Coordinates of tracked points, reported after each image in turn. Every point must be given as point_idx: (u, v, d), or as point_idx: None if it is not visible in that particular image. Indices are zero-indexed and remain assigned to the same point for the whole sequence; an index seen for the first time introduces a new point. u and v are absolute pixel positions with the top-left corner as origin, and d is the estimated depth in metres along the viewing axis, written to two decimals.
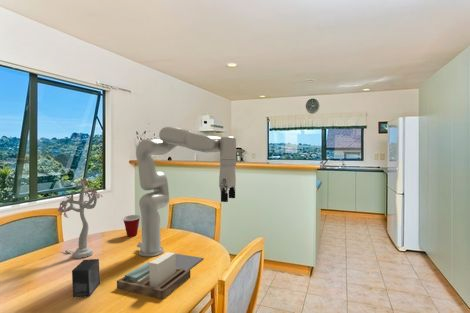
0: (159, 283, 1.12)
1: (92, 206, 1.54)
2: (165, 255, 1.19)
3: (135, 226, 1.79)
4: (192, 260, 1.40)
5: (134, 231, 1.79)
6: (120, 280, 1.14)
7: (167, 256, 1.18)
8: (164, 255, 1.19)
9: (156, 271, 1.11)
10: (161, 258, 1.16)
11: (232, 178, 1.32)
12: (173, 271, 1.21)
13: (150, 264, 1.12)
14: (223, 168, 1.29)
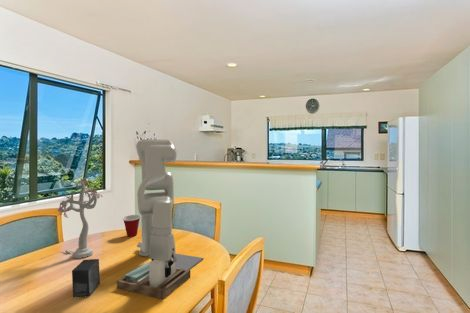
0: (159, 283, 1.12)
1: (92, 206, 1.54)
2: None
3: (135, 226, 1.79)
4: (192, 260, 1.40)
5: (134, 231, 1.79)
6: (120, 280, 1.14)
7: None
8: None
9: (156, 271, 1.11)
10: None
11: None
12: (173, 271, 1.21)
13: (150, 264, 1.12)
14: (171, 236, 1.14)
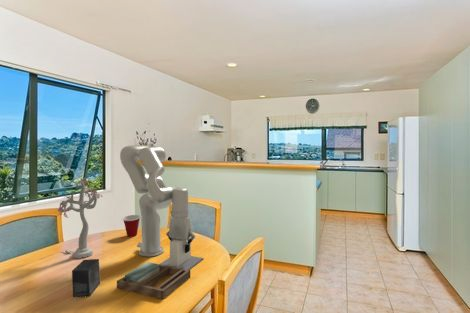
0: (178, 259, 1.33)
1: (92, 206, 1.54)
2: None
3: (135, 226, 1.79)
4: (192, 260, 1.40)
5: (134, 231, 1.79)
6: (120, 280, 1.14)
7: None
8: None
9: (175, 249, 1.32)
10: (179, 239, 1.37)
11: None
12: (189, 251, 1.42)
13: (170, 243, 1.33)
14: (188, 219, 1.36)
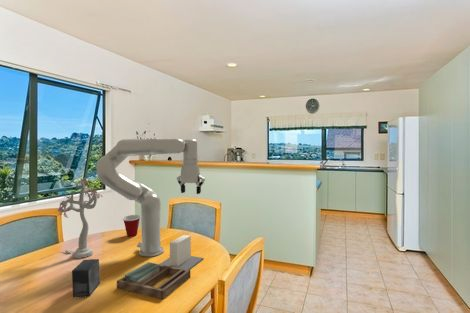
0: (178, 259, 1.33)
1: (92, 206, 1.54)
2: (182, 237, 1.40)
3: (135, 226, 1.79)
4: (192, 260, 1.40)
5: (134, 231, 1.79)
6: (120, 280, 1.14)
7: (184, 238, 1.39)
8: (181, 237, 1.41)
9: (175, 249, 1.32)
10: (179, 239, 1.37)
11: None
12: (189, 251, 1.42)
13: (170, 243, 1.33)
14: (197, 165, 1.56)
